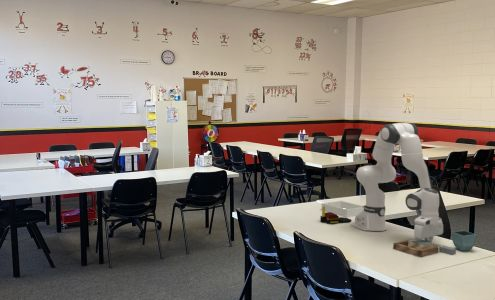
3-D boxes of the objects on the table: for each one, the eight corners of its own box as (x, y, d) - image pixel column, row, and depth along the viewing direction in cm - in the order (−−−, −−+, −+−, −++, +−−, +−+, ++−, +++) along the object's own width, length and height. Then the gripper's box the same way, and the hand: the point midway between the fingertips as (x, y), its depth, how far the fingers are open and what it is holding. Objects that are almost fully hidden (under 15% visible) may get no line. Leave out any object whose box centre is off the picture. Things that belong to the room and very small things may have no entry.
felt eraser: (439, 252, 250) (439, 246, 250) (442, 250, 253) (443, 245, 253) (452, 255, 245) (452, 249, 245) (455, 254, 248) (456, 248, 247)
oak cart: (407, 248, 257) (408, 240, 257) (417, 246, 262) (417, 237, 261) (423, 253, 249) (424, 244, 248) (433, 250, 253) (433, 242, 253)
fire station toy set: (316, 221, 316) (316, 204, 316) (343, 219, 322) (344, 203, 321) (326, 226, 303) (326, 209, 302) (354, 224, 309) (355, 207, 308)
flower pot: (461, 252, 249) (462, 235, 248) (450, 247, 258) (451, 231, 257) (476, 251, 252) (476, 234, 251) (464, 246, 260) (465, 230, 259)
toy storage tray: (321, 211, 344) (321, 203, 343) (341, 208, 354) (341, 200, 354) (346, 218, 323) (346, 209, 322) (366, 215, 333) (366, 206, 333)
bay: (393, 248, 255) (393, 243, 255) (411, 244, 263) (411, 239, 263) (420, 257, 241) (420, 251, 241) (438, 252, 249) (438, 247, 249)
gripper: (436, 215, 265) (435, 240, 266) (412, 220, 253) (411, 246, 255) (446, 217, 259) (445, 243, 261) (422, 222, 248) (421, 248, 249)
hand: (428, 244), depth 257 cm, fingers closed
